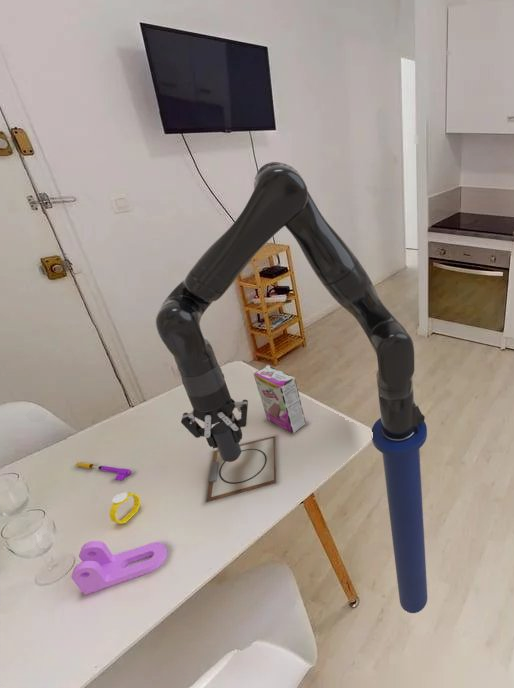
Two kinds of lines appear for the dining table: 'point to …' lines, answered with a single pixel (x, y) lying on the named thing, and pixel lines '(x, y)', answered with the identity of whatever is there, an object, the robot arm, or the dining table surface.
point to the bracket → (114, 565)
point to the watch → (120, 500)
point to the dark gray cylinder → (226, 442)
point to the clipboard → (243, 470)
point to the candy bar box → (280, 398)
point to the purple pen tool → (121, 471)
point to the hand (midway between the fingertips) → (227, 442)
